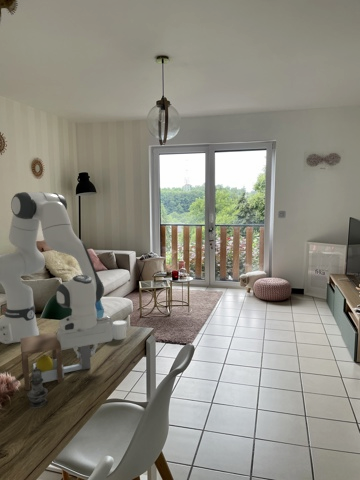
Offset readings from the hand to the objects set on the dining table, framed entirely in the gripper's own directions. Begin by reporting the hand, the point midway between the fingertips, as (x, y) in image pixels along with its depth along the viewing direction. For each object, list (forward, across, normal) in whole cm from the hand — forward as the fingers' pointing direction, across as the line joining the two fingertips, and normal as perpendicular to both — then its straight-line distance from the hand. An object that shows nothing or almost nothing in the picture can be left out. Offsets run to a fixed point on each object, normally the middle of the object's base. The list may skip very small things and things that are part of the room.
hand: (85, 356), depth 135 cm
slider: (+4, +8, 0) cm, 9 cm away
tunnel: (+5, +16, 0) cm, 16 cm away
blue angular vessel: (+5, -7, -30) cm, 31 cm away
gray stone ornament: (+5, +18, +17) cm, 25 cm away
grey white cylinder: (+5, -20, -23) cm, 31 cm away
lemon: (+5, +15, 0) cm, 15 cm away
